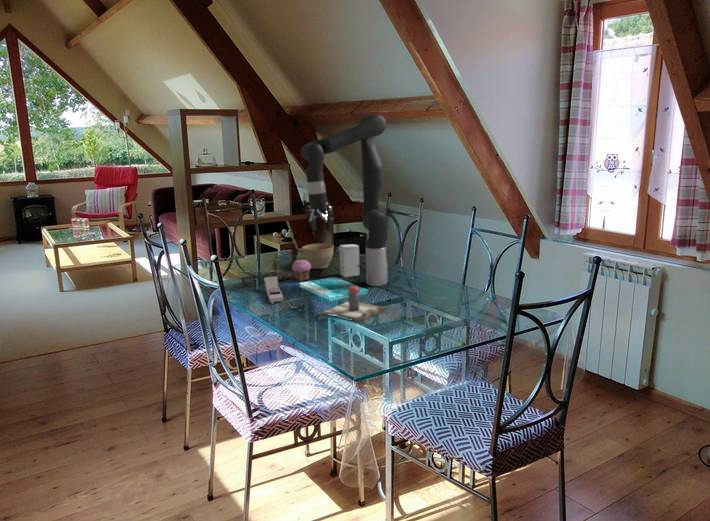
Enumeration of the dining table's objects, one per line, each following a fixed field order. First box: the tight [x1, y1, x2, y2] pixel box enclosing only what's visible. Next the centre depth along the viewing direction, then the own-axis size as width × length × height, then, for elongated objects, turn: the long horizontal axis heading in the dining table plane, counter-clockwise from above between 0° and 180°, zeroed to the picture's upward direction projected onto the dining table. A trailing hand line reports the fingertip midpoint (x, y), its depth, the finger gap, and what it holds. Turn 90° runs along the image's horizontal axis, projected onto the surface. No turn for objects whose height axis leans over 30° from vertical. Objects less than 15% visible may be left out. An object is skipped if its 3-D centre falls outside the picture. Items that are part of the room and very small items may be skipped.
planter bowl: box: [301, 243, 335, 270], centre depth 304 cm, size 16×16×11 cm
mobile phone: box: [263, 275, 284, 305], centre depth 255 cm, size 6×6×25 cm
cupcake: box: [291, 259, 312, 282], centre depth 279 cm, size 9×9×10 cm
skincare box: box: [339, 243, 360, 278], centre depth 285 cm, size 8×6×15 cm
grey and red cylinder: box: [347, 285, 360, 311], centre depth 230 cm, size 4×4×9 cm
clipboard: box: [321, 300, 387, 323], centre depth 231 cm, size 18×18×2 cm
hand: (321, 230), depth 248 cm, fingers open, 8 cm apart
